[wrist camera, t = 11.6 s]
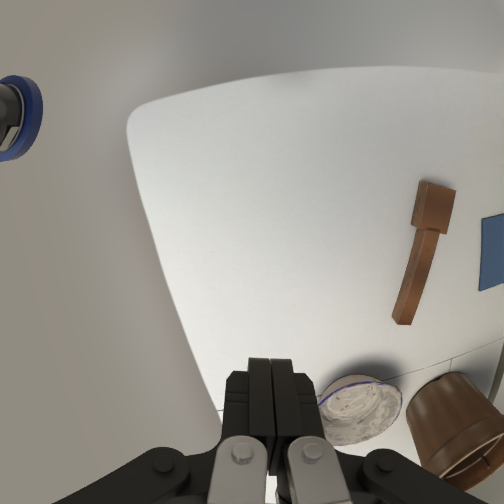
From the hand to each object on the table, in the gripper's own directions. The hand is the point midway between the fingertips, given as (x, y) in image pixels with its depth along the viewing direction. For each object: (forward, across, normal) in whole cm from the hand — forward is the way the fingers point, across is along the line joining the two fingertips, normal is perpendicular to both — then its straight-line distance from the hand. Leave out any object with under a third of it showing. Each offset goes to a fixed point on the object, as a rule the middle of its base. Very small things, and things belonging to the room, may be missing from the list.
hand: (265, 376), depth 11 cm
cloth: (+22, -32, +1) cm, 39 cm away
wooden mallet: (+22, -19, +2) cm, 29 cm away
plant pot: (+22, -32, +26) cm, 47 cm away
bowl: (+23, -15, +23) cm, 36 cm away
